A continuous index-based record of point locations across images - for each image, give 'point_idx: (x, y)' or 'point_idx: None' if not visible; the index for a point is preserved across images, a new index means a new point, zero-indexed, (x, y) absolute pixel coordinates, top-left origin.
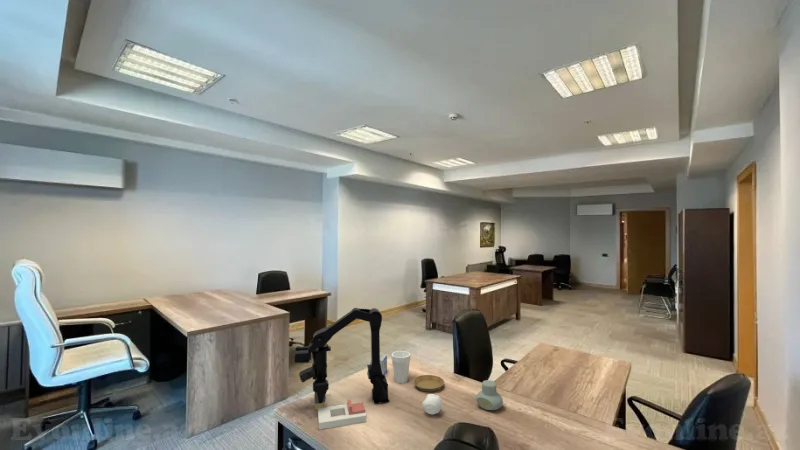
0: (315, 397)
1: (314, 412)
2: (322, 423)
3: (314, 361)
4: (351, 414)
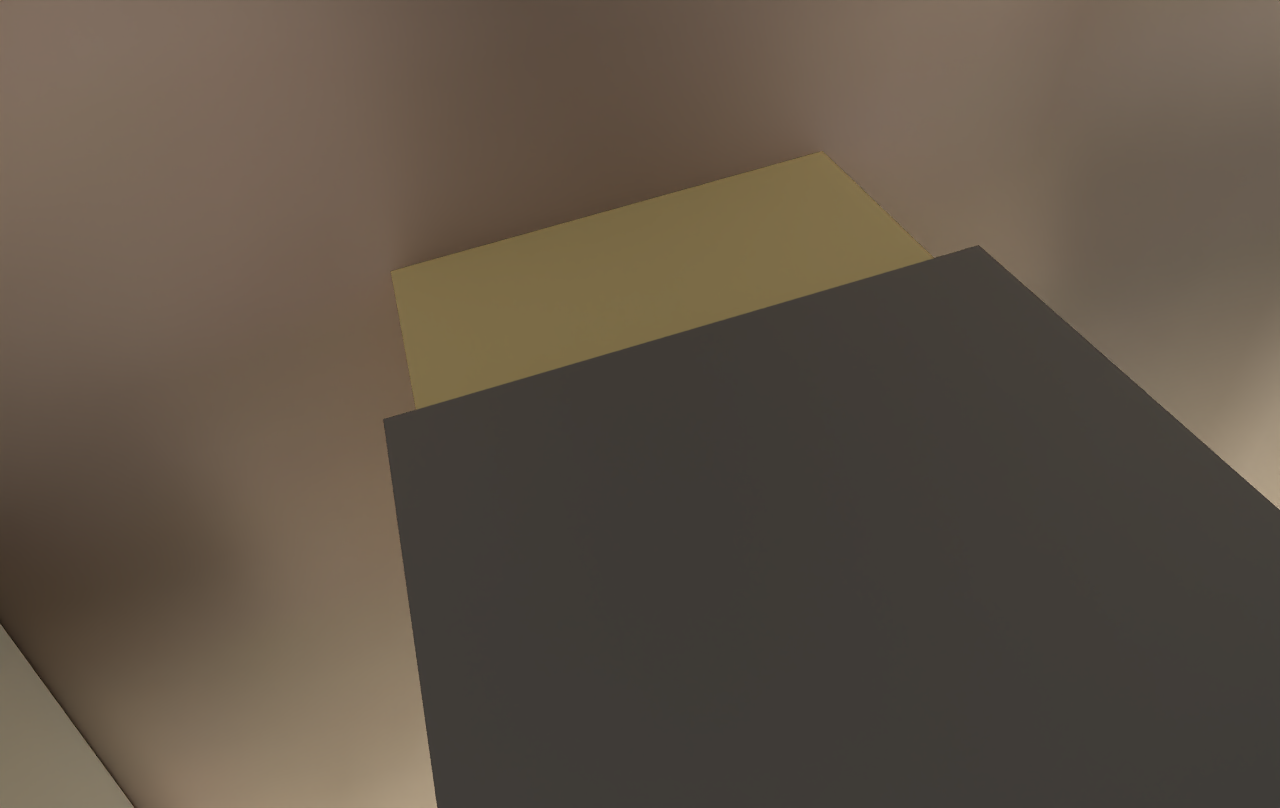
0: (433, 740)
1: (92, 308)
2: None
3: None
4: None
